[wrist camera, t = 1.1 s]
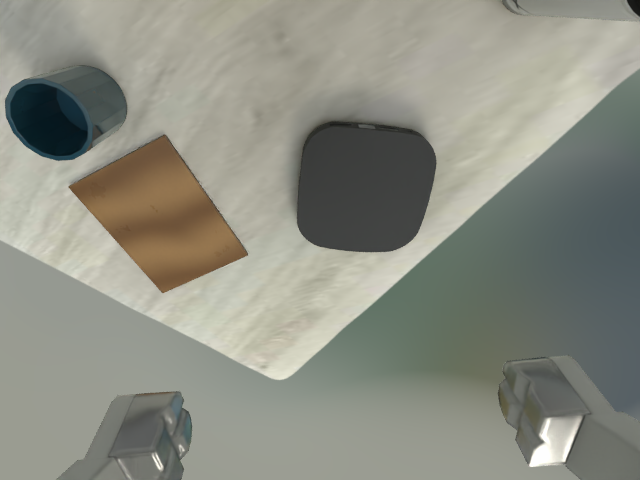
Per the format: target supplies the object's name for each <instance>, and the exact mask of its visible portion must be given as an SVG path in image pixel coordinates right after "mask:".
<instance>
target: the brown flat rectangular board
mask: <svg viewBox="0 0 640 480" xmlns="http://www.w3.org/2000/svg"><path fill="white" fill-rule="evenodd" d="M69 188H70V189H71V191H72V192H73V193H74V194H75V195H76V196H77V197H78V198H79V200H80V201H81V202H82V203H83V204H84V205H85V206H86V207H87V209H88V210H89V211H90V212H91V213H92V214H93V215H94V216H95V218H96V219H97V220H98V221H99V222H100V223H101V224H102V225H103V227H104V228H105V229H106V230H107V231H108V232H109V233H110V234H111V236H112V237H113V238H114V239H115V240H116V241H117V242H118V243H119V245H120V246H121V247H122V248H123V249H124V250H125V251H126V252H127V254H128V255H129V256H130V257H131V258H132V259H133V260H134V261H135V263H136V264H137V265H138V266H139V267H140V268H141V269H142V270H143V272H144V273H145V274H146V275H147V276H148V277H149V278H150V280H151V281H152V282H153V283H154V284H155V285H156V286H157V287H158V289H159V290H160V291H161V292H162V293H164V292H167V291H169V290H171V289H173V288H176V287H178V286H180V285H182V284H185V283H187V282H189V281H191V280H194V279H196V278H198V277H200V276H202V275H205V274H207V273H209V272H211V271H214V270H216V269H218V268H220V267H223V266H225V265H227V264H229V263H232V262H234V261H236V260H238V259H241V258H243V257H245V256H247V255H248V253H247V252H246V250H245V249H244V247H243V246H242V244H241V243H240V242H239V240H238V239H237V237H236V236H235V234H234V233H233V232H232V230H231V229H230V227H229V226H228V224H227V223H226V221H225V220H224V219H223V217H222V216H221V214H220V213H219V211H218V210H217V208H216V207H215V206H214V204H213V203H212V201H211V200H210V198H209V197H208V196H207V194H206V193H205V191H204V190H203V188H202V187H201V185H200V184H199V183H198V181H197V180H196V178H195V177H194V175H193V174H192V173H191V171H190V170H189V168H188V167H187V165H186V164H185V162H184V161H183V160H182V158H181V157H180V155H179V154H178V152H177V151H176V150H175V148H174V147H173V145H172V144H171V142H170V141H169V139H168V138H167V137H166V135H163V136H162V137H160V138H158V139H156V140H154V141H152V142H150V143H148V144H147V145H145V146H143V147H141V148H139V149H137V150H135V151H134V152H132V153H130V154H128V155H126V156H124V157H122V158H120V159H119V160H117V161H115V162H113V163H111V164H109V165H107V166H106V167H104V168H102V169H100V170H98V171H96V172H94V173H93V174H91V175H89V176H87V177H85V178H83V179H81V180H79V181H78V182H76V183H74V184H72V185H70V186H69Z"/></svg>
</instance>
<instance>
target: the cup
mask: <svg viewBox="0 0 640 480" xmlns="http://www.w3.org/2000/svg"><path fill="white" fill-rule="evenodd" d="M5 111H6V118H7V120H8V122H9V125H10V127H11V129H12V131H13V133H14V134H15V135H16V136H17V137H18V138H19V140H20V141H21V142H22V143H23V144H24V145H25V146H26V147H28V148H29V149H31V150H32V151H34V152H35V153H37V154H39V155H40V156H43V157H46V158H50V159H53V160H58V161H60V160H73V159H75V158H77V157H79V156H81V155H82V154H84V153H86V152H87V151H89V150H90V149H91V148H93V147H94V146H96V145H97V144H99V143H100V142H101V141H103V140H104V139H106V138H107V137H109V136H110V135H111V134H113V133H114V132H116V131H117V130H118V129H119V128H120V127H121V126H122V124H123V123H124V121H125V118H126V114H127V105H126V100H125V97H124V94H123V92H122V90H121V89H120V87H119V86H118V84H117V83H116V82H115V81H114V80H113V79H112V78H111V77H110V76H109V75H108V74H106V73H105V72H103V71H101V70H99V69H97V68H94V67H91V66H85V65H78V66H72V67H67V68H63V69H60V70H56V71H53V72H49V73H45V74H42V75H38V76H35V77H31V78H28V79H24V80H22V81H21V82H19V83H17V84H16V85H14V86H13V87H12V88H11V89H10V91H9V93H8V95H7V97H6V99H5Z"/></svg>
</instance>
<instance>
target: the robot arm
mask: <svg viewBox="0 0 640 480" xmlns="http://www.w3.org/2000/svg"><path fill="white" fill-rule="evenodd" d="M502 372H503V374H504V376H505V379H504V380H503V381H502V382H501V383H500V384H499V390H498V396H499V404H500V407H501V411H502V413H503V415H504V418H505V420H506V422H507V423H508V424H510V425H511V426H512V427H513V428H515V429H516V430H517V435H516V439H515V440H516V442H517V444H518V446H519V448H520V450H521V452H522V454H523V456H524V458H525V460H526V462H527V464H528V466H545V465H562V464H566V467H567V468H568V469H569V470H570V471H571V472H573V473H574V474H575V475H576V476H577V477H578V478H579V479H581V480H640V422H639V421H637V420H636V419H634V418H632V417H631V416H629V415H627V414H625V413H624V412H616V411H615V410H614V409H613V408H612V406H611V405H610V404H609V403H608V401H607V400H606V399H605V397H604V396H603V395H602V394H601V392H600V391H599V390H598V389H597V387H596V386H595V385H594V383H593V382H592V381H591V380H590V379H589V377H588V376H587V375H586V373H585V372H584V371H583V370H582V368H581V367H580V366H579V365H578V363H577V362H576V361H575V360H574V358H572V357H571V356H569V355H568V356H556V357H547V358H546V357H541V358H532V359H522V360H512V361H507V362H506V363H505V364H504V366H503V371H502ZM183 402H184V399H183V397H182V395H181V392H177V391H176V392H160V393H144V394H132V395H118V396H117V397H116V398H115V399H114V400H113V401H112V402H111V404H110V406H109V408H108V411H107V413H106V415H105V417H104V419H103V421H102V423H101V425H100V427H99V429H98V431H97V433H96V436H95V437H94V439H93V442H92V444H91V446H90V448H89V450H88V452H87V454H86V456H85V458H84V460H77V461H76V462H75V463H74V464H73V465H72V466H71V467H69V468H68V469H67V470H66V471H65V472H64V473H63V474H62V475H61V476H60V477H58V478H57V479H56V480H181V479H182V475H183V471H184V468H183V465H182V463H181V461H180V460H181V459H182V458H183V457H184V456H185V454H186V453H187V452H188V451H189V447H190V443H191V437H192V423H191V417H190V414H189V412H188V411H187V410H185V409H183V408H182V405H183Z"/></svg>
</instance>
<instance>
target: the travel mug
mask: <svg viewBox="0 0 640 480" xmlns="http://www.w3.org/2000/svg"><path fill="white" fill-rule="evenodd" d="M502 2H503V4H504V5H505V6H506V7H507V9H509V10H510V11H511V12H513V13H516V14H519V15H532V16H549V17H567V18H584V19H601V20H619V21H636V22H640V0H502Z"/></svg>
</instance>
